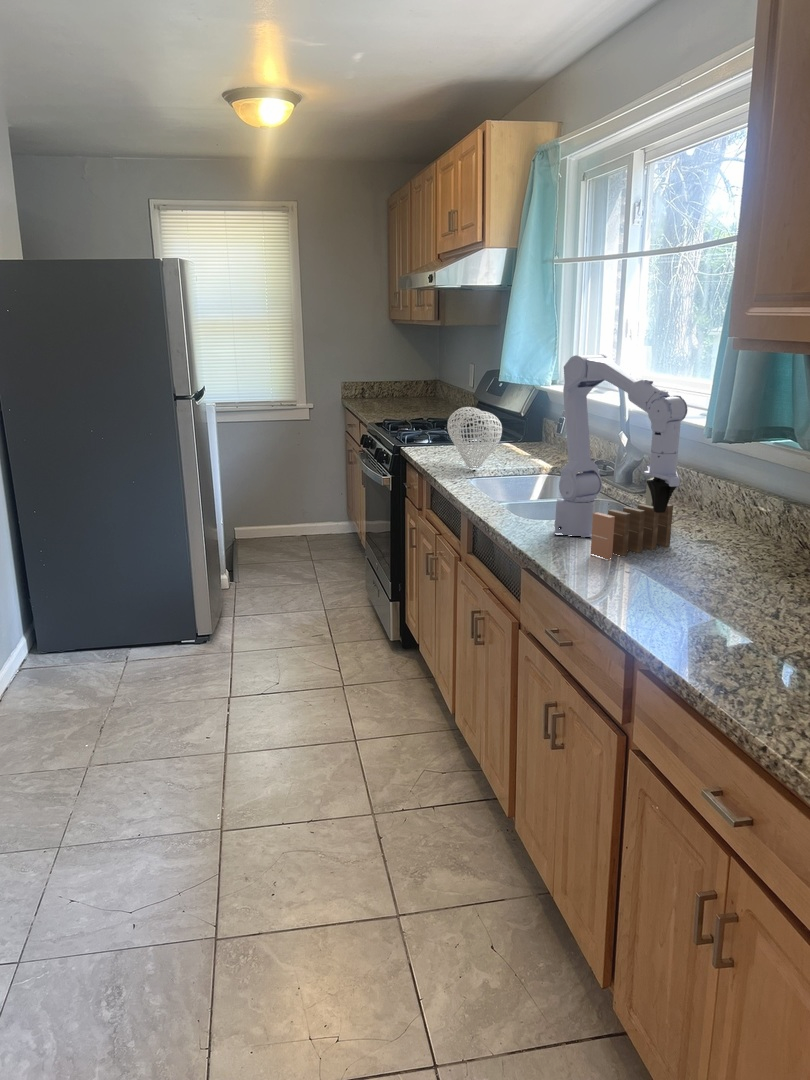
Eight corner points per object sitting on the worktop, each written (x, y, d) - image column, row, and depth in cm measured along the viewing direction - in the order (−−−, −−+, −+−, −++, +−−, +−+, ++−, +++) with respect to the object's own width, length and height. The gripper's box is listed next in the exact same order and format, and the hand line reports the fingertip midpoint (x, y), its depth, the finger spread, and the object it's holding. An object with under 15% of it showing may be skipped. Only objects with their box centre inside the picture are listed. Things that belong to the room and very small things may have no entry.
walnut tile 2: (651, 550, 186) (654, 508, 184) (634, 545, 190) (637, 504, 188) (655, 549, 187) (659, 507, 185) (639, 544, 191) (642, 503, 189)
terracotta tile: (606, 560, 178) (609, 517, 176) (590, 555, 182) (592, 513, 180) (611, 559, 179) (614, 516, 177) (595, 554, 183) (597, 512, 181)
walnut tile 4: (622, 557, 181) (625, 514, 178) (605, 552, 185) (608, 510, 182) (627, 556, 182) (630, 513, 179) (610, 551, 186) (613, 509, 183)
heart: (442, 465, 299) (442, 405, 293) (481, 463, 302) (483, 404, 296) (463, 479, 272) (464, 413, 266) (506, 477, 276) (508, 412, 270)
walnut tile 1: (665, 547, 189) (668, 505, 186) (648, 542, 193) (651, 502, 190) (669, 545, 190) (673, 505, 187) (652, 541, 194) (656, 501, 191)
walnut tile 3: (637, 553, 184) (640, 511, 181) (620, 548, 188) (623, 507, 185) (641, 552, 185) (644, 510, 182) (625, 547, 189) (627, 506, 186)
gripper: (635, 447, 182) (631, 505, 186) (658, 457, 168) (653, 520, 172) (665, 446, 182) (660, 504, 186) (691, 457, 168) (685, 519, 172)
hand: (659, 512), depth 179 cm, fingers closed
